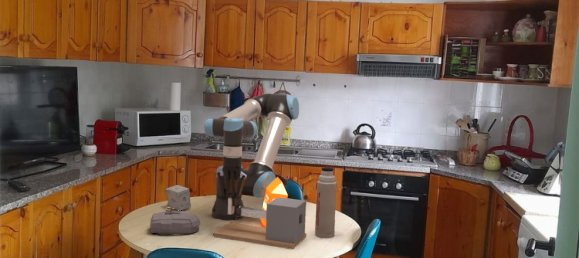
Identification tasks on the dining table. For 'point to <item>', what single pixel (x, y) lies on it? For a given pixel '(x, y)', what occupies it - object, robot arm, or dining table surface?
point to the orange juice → (273, 194)
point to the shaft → (250, 212)
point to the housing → (272, 225)
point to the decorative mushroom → (282, 180)
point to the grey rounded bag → (174, 222)
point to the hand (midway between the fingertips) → (231, 213)
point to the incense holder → (178, 197)
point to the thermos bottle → (325, 204)
